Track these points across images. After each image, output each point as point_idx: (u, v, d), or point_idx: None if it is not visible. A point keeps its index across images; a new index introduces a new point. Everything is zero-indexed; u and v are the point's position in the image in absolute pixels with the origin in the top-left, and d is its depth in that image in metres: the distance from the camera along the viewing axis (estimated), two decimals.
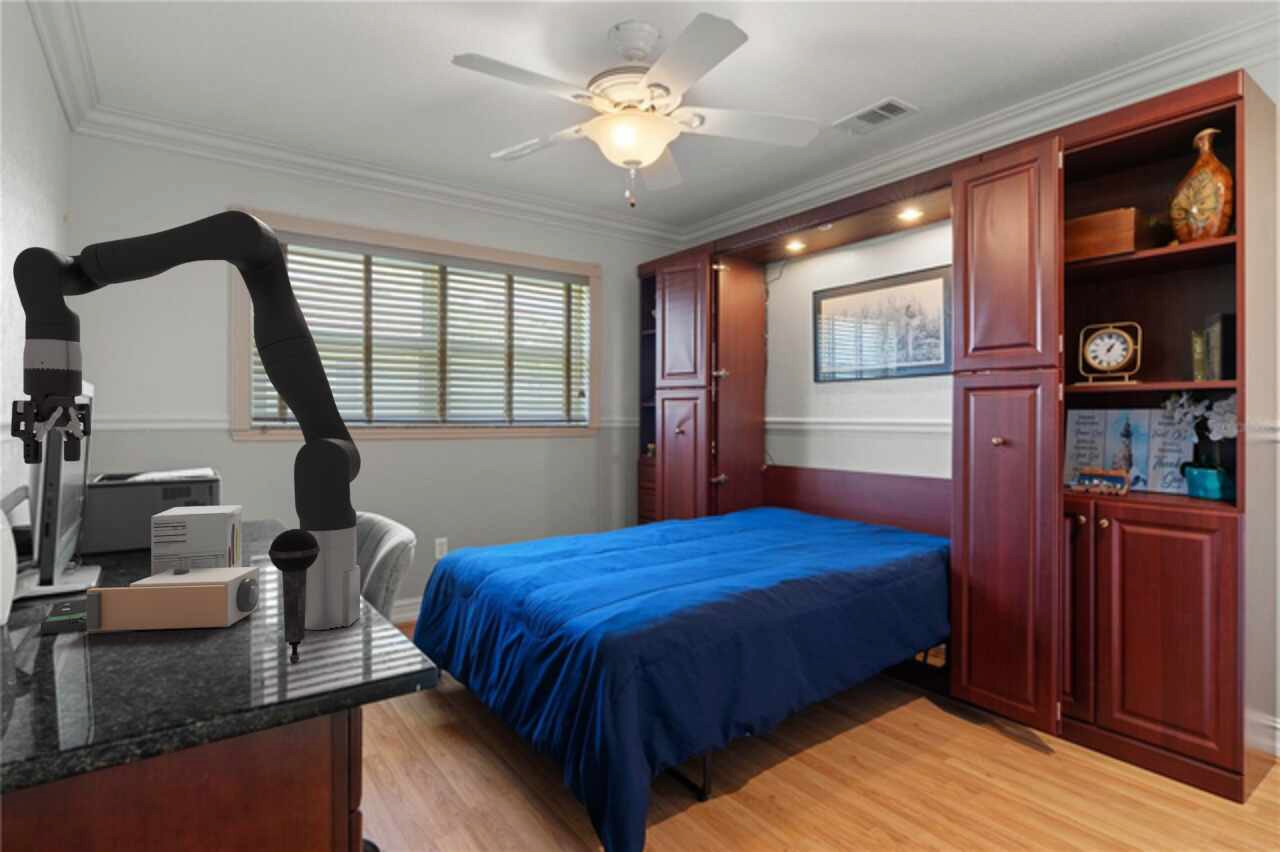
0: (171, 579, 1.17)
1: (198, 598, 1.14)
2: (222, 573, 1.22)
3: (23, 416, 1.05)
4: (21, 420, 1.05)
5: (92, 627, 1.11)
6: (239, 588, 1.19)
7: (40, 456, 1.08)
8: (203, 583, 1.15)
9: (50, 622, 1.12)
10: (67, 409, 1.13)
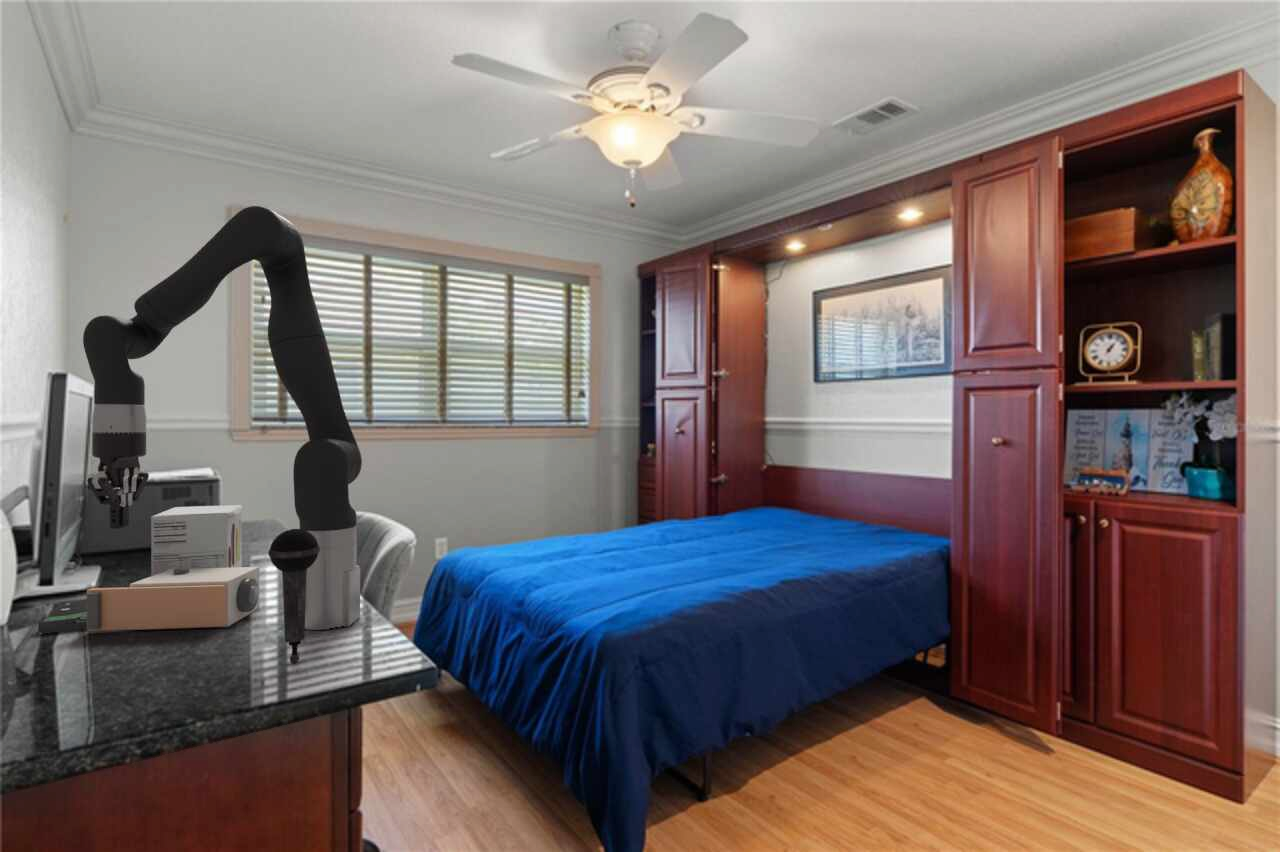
0: (171, 579, 1.17)
1: (198, 598, 1.14)
2: (222, 573, 1.22)
3: (104, 492, 1.11)
4: (103, 494, 1.12)
5: (92, 627, 1.11)
6: (239, 588, 1.19)
7: (124, 521, 1.16)
8: (203, 583, 1.15)
9: (48, 622, 1.12)
10: (133, 467, 1.17)
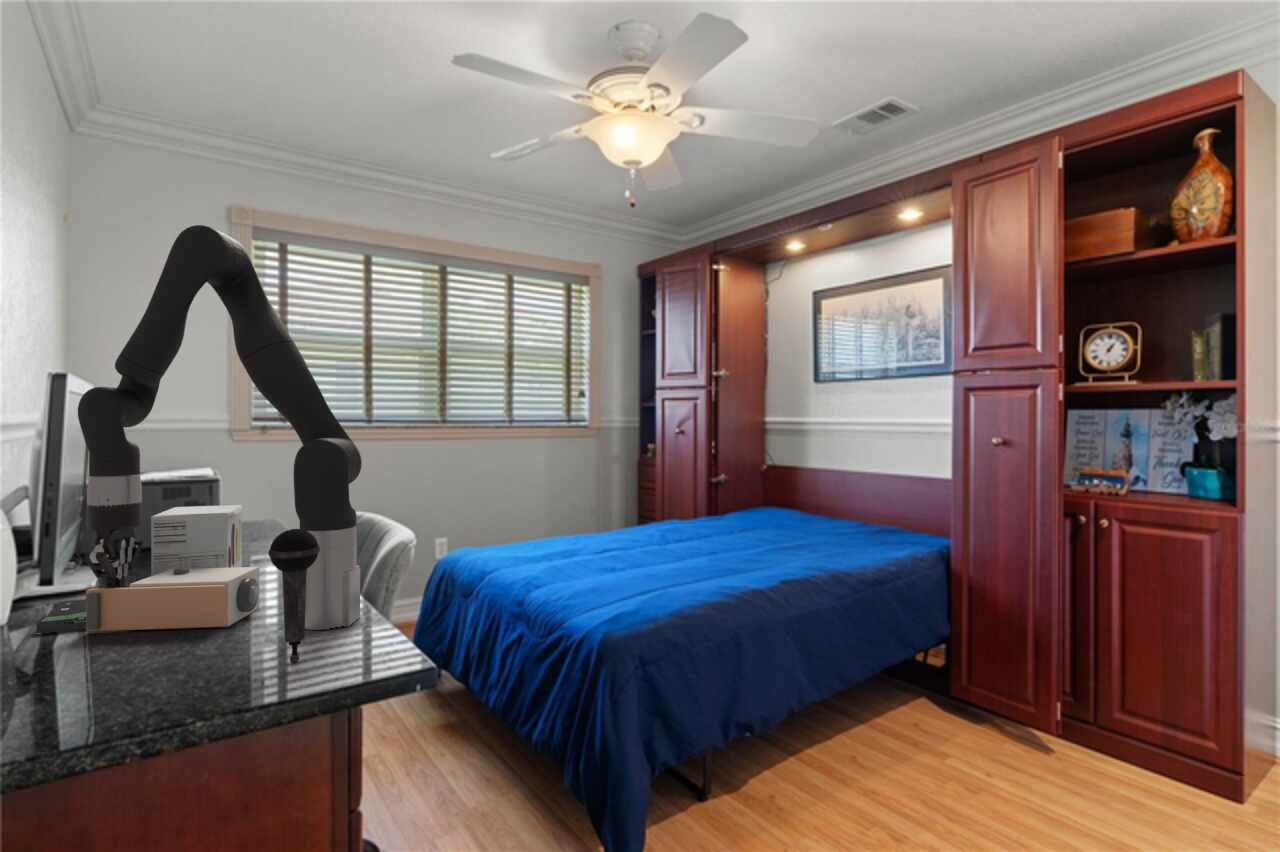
0: (171, 579, 1.17)
1: (198, 598, 1.14)
2: (222, 573, 1.22)
3: (101, 566, 1.10)
4: (101, 568, 1.11)
5: (92, 627, 1.11)
6: (239, 588, 1.19)
7: None
8: (203, 583, 1.15)
9: (46, 622, 1.12)
10: (129, 538, 1.16)
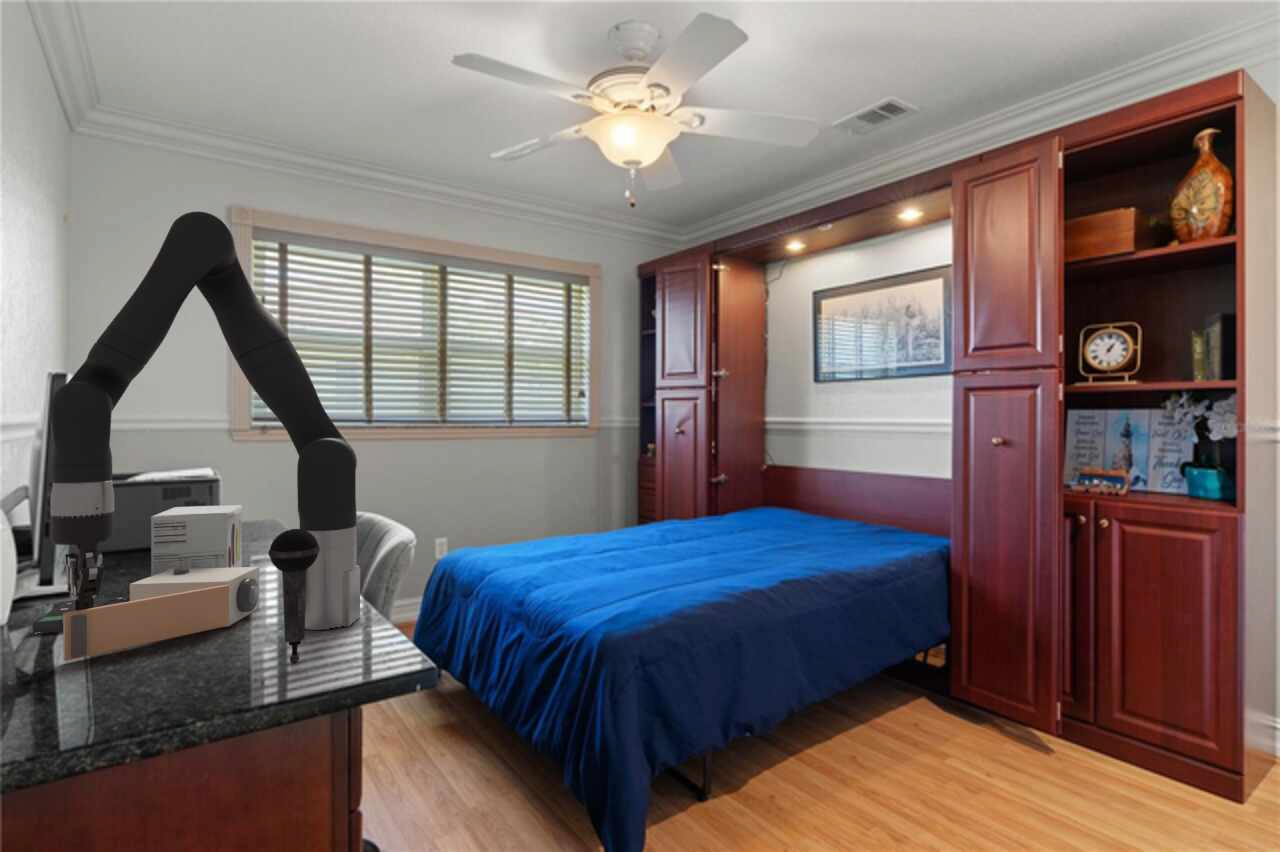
0: (171, 579, 1.17)
1: (202, 602, 1.11)
2: (222, 573, 1.22)
3: (95, 582, 0.99)
4: (92, 585, 0.99)
5: (80, 654, 0.98)
6: (239, 588, 1.19)
7: None
8: (203, 583, 1.15)
9: (42, 622, 1.12)
10: None
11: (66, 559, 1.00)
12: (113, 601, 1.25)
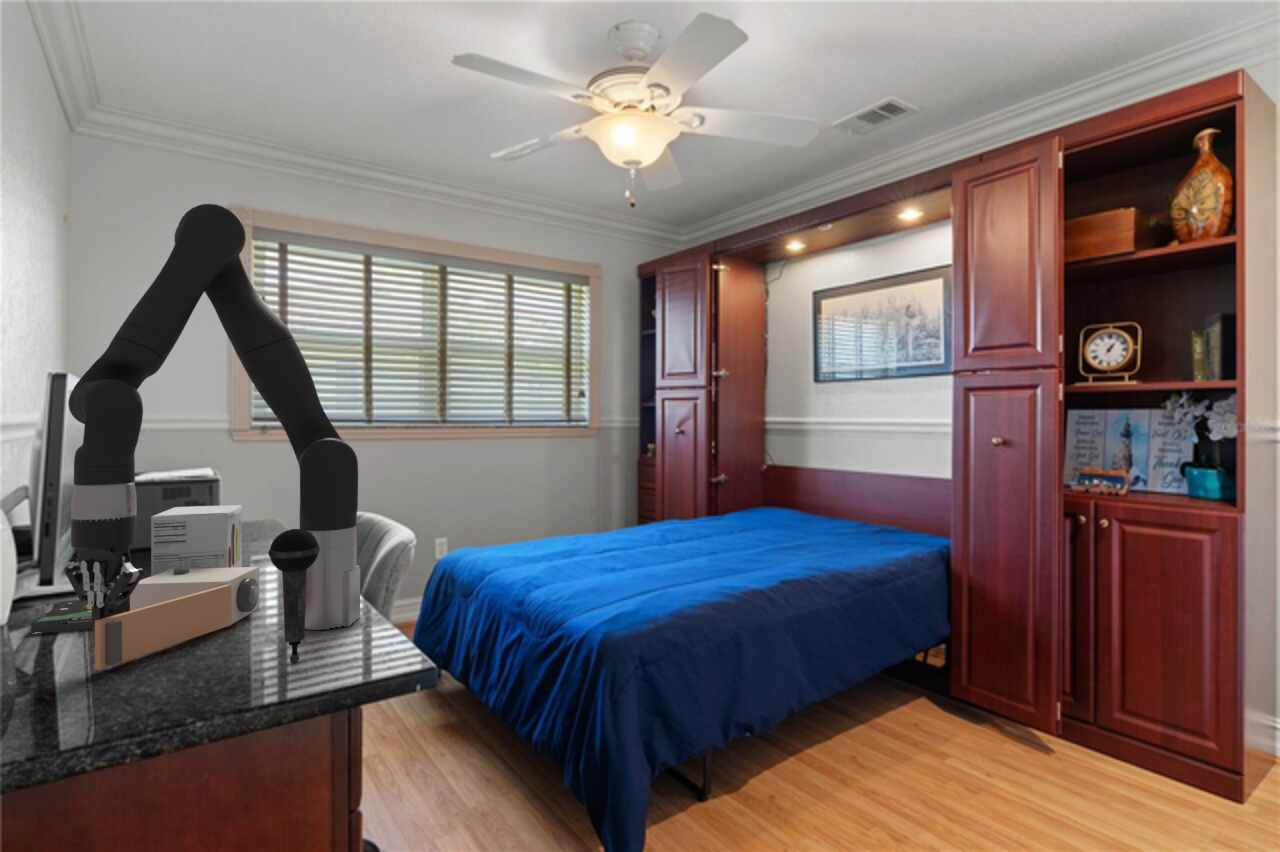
0: (171, 579, 1.17)
1: (210, 602, 1.11)
2: (222, 573, 1.22)
3: (132, 586, 0.96)
4: (127, 589, 0.96)
5: (116, 661, 0.95)
6: (239, 588, 1.19)
7: None
8: (203, 583, 1.15)
9: (40, 622, 1.12)
10: None
11: (87, 565, 0.95)
12: None
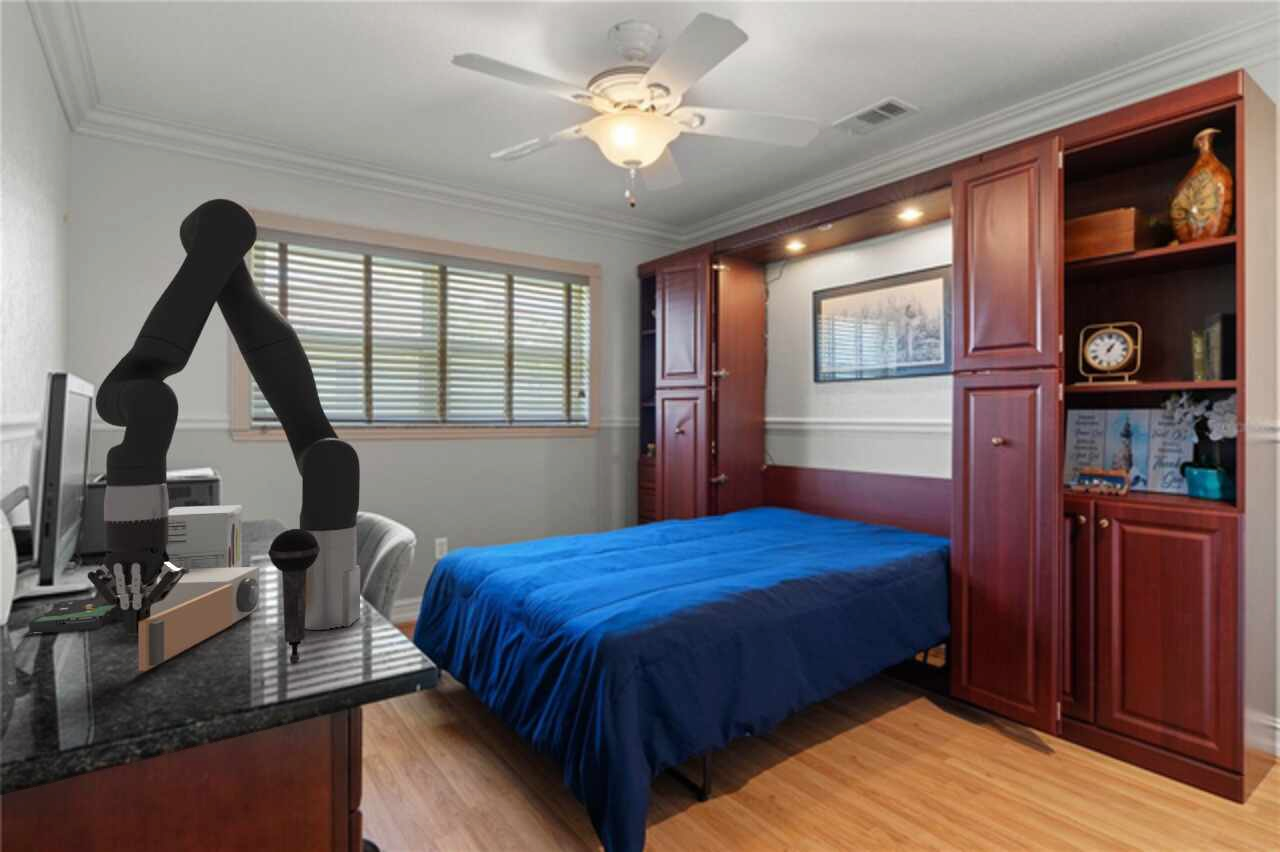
0: None
1: (219, 602, 1.11)
2: (222, 573, 1.22)
3: (172, 586, 0.96)
4: (168, 589, 0.96)
5: (160, 661, 0.95)
6: (239, 588, 1.19)
7: None
8: (203, 583, 1.15)
9: (38, 622, 1.12)
10: None
11: (122, 568, 0.94)
12: None
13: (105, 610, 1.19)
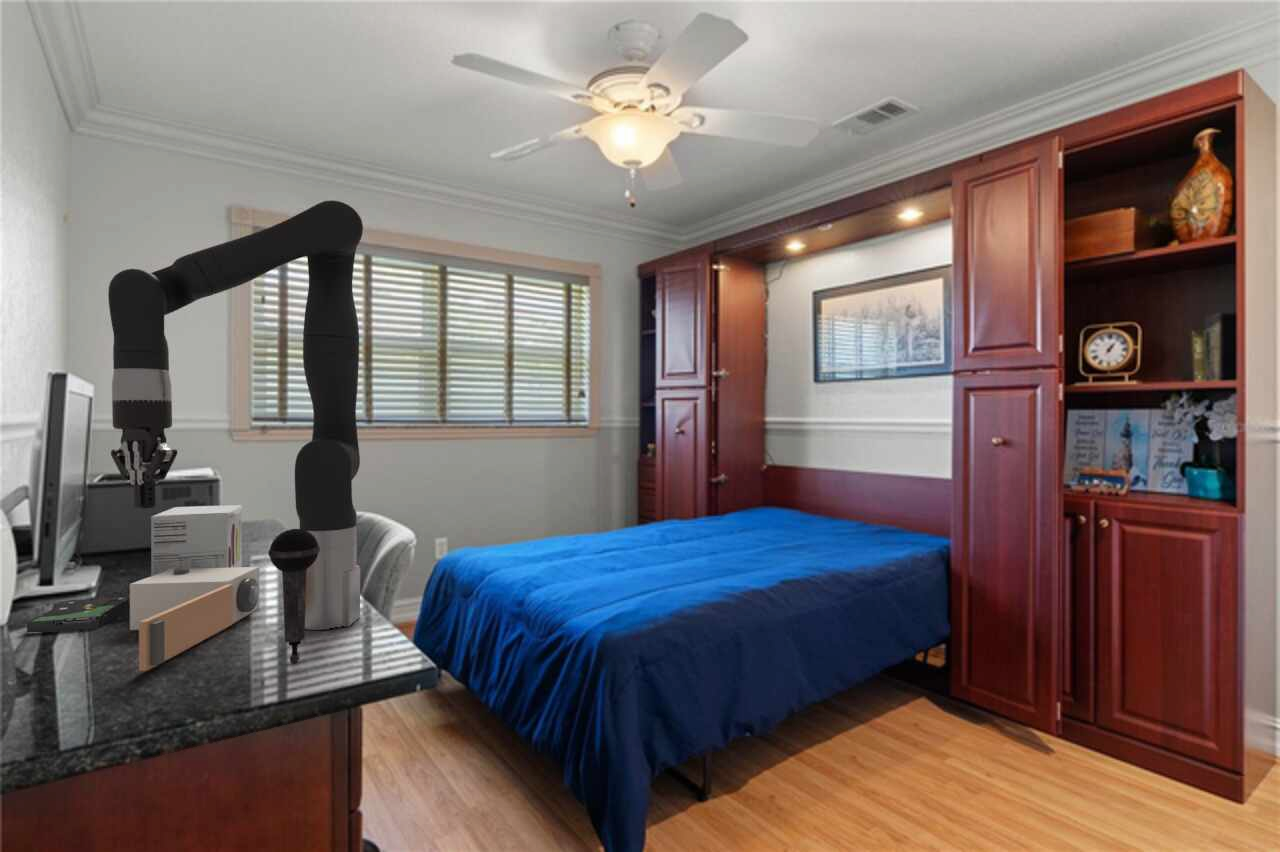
0: (171, 579, 1.17)
1: (219, 602, 1.11)
2: (222, 573, 1.22)
3: (167, 465, 1.02)
4: (163, 468, 1.02)
5: (160, 661, 0.95)
6: (239, 588, 1.19)
7: None
8: (203, 583, 1.15)
9: (35, 622, 1.12)
10: None
11: (127, 445, 1.02)
12: (113, 601, 1.25)
13: (103, 610, 1.18)
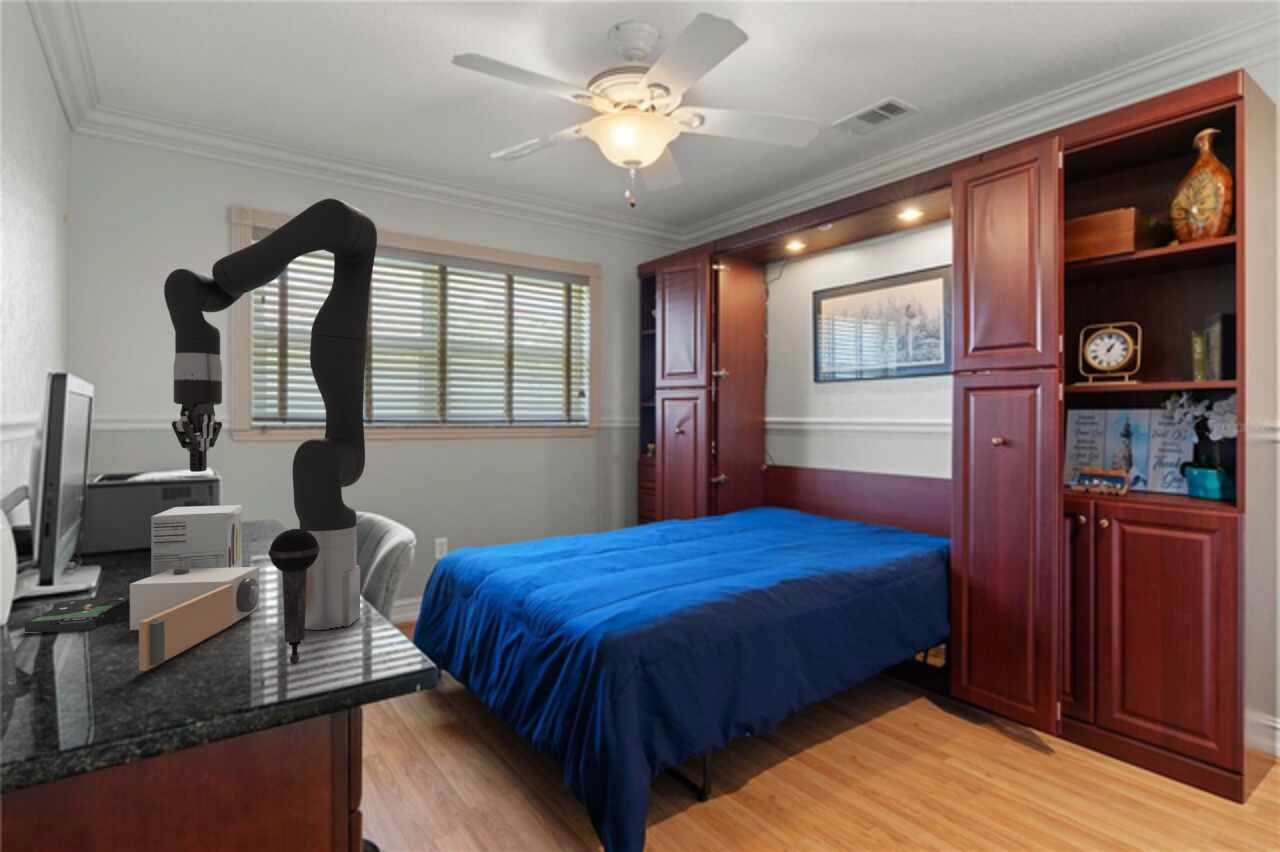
0: (171, 579, 1.17)
1: (219, 602, 1.11)
2: (222, 573, 1.22)
3: (186, 435, 1.18)
4: (186, 438, 1.18)
5: (160, 661, 0.95)
6: (239, 588, 1.19)
7: (203, 465, 1.22)
8: (203, 583, 1.15)
9: (33, 622, 1.12)
10: (210, 415, 1.23)
11: None
12: (113, 601, 1.25)
13: (101, 611, 1.18)
